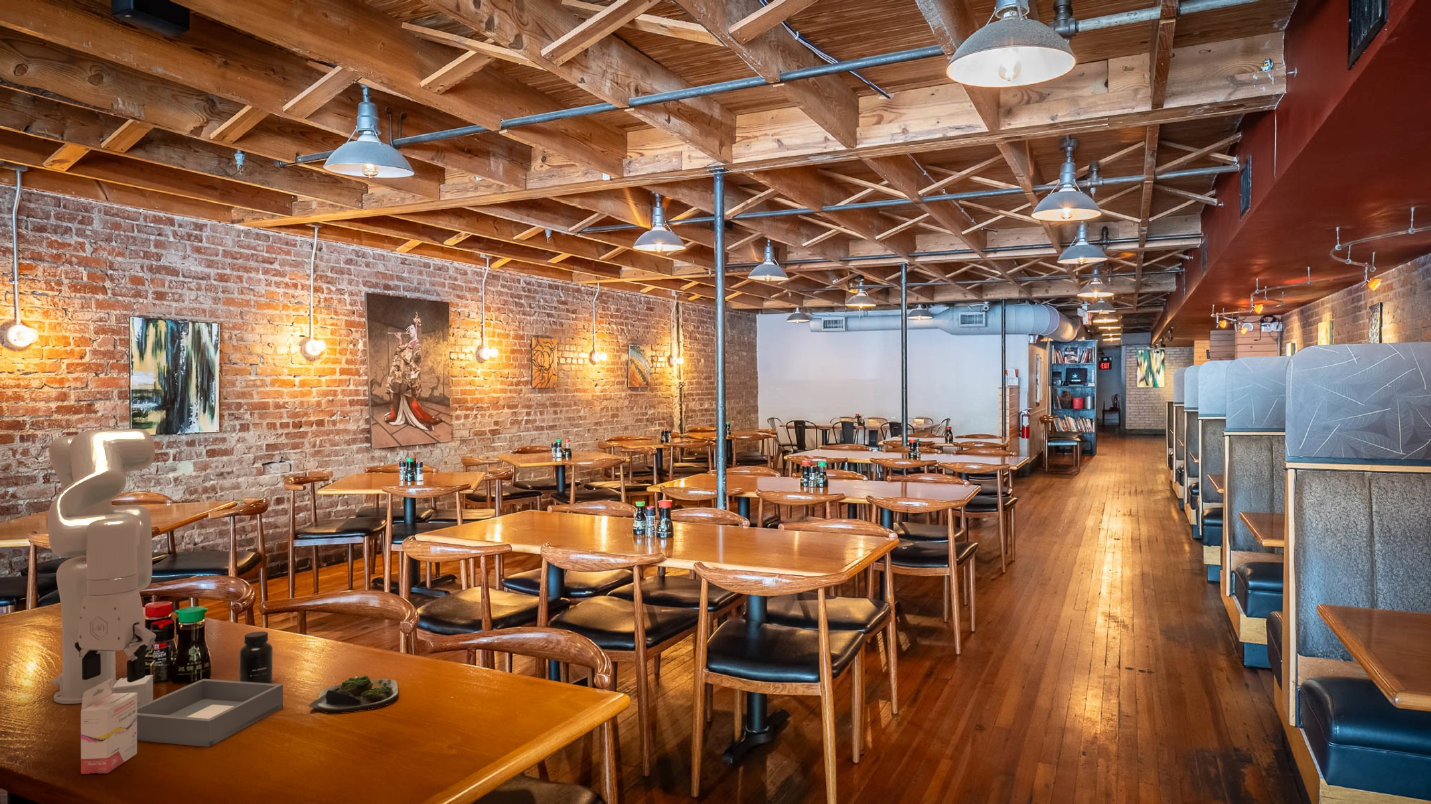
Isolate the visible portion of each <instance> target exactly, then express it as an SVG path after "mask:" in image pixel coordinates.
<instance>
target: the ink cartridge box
mask: <svg viewBox="0 0 1431 804" xmlns="http://www.w3.org/2000/svg"><path fill="white" fill-rule="evenodd" d="M112 686H113V678H111V679H109V680H107V681H105V682H103V683H101V684H99V685H97V686H95V687H93V688H91V689H89V690H87V691H85V692H84V693H83V699H82V703H81V710H80V774H81V775H89V774H90V773H98V774H109V773H111V772H112V771H113V770H115V769H116V768H118V767H119V766H120V765H122V764H123V763H125V762H126V761H128V760H130V759H131V758H133V757H134V756H136V755H137V754H138V741H137V694H138V693H113V694H112ZM98 689H99V690H101V689H103V691H102V693H99V694H98V695H96V696H94V697H93V694H94V693H95V692H97V690H98ZM90 775H91V774H90Z"/></svg>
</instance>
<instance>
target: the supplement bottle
mask: <svg viewBox="0 0 1431 804" xmlns="http://www.w3.org/2000/svg"><path fill="white" fill-rule="evenodd" d="M268 641H269V634H268V631H254V632H253V631H252V632H248V633H246V634H245V635H244V640H243V644H245V645H243V646H241V648H240V649H239V658H238V660H239V664H238V666H239V667H238V671H239V672H238V681H240V682H254V683H268V684H272V682H273V662H274V661H273V658H274V657H273V656H274V655H273V654H274V653H273V651H274V650H273V645H271V643H268Z"/></svg>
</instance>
